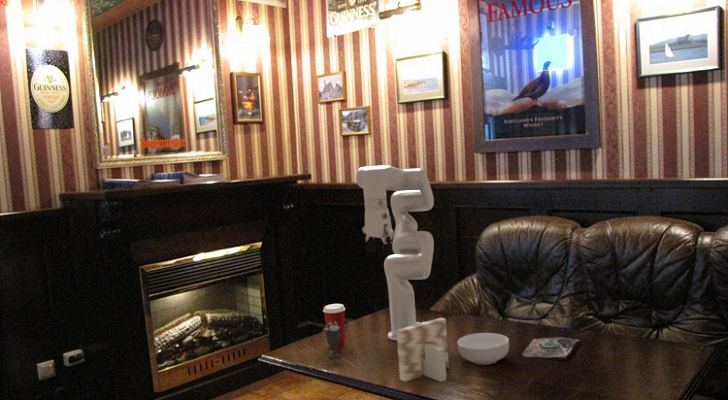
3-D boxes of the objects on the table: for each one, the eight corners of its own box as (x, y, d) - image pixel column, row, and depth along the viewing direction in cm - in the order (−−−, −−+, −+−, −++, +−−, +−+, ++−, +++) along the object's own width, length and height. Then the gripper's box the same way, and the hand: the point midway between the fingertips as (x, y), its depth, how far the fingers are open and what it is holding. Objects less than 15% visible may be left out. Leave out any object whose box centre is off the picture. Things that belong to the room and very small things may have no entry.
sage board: (410, 365, 218) (408, 336, 217) (446, 379, 203) (444, 348, 202) (405, 367, 216) (402, 337, 215) (440, 381, 201) (438, 350, 200)
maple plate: (444, 365, 215) (440, 317, 214) (448, 366, 213) (445, 318, 212) (400, 379, 206) (396, 329, 204) (404, 381, 204) (401, 331, 202)
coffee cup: (351, 342, 248) (348, 303, 246) (343, 349, 240) (340, 309, 238) (330, 341, 250) (327, 303, 249) (322, 348, 243) (319, 309, 241)
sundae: (341, 359, 229) (338, 317, 228) (323, 359, 230) (319, 317, 229) (346, 353, 235) (342, 312, 234) (328, 353, 237) (324, 312, 235)
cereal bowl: (478, 349, 229) (477, 329, 228) (520, 358, 217) (518, 337, 216) (448, 363, 217) (446, 342, 216) (490, 373, 205) (489, 351, 204)
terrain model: (537, 340, 236) (537, 331, 235) (580, 344, 228) (580, 335, 227) (519, 358, 218) (519, 348, 218) (565, 363, 210) (565, 353, 210)
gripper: (399, 203, 218) (403, 254, 220) (370, 201, 233) (374, 249, 234) (381, 206, 214) (385, 258, 216) (352, 204, 229) (356, 252, 230)
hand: (379, 253), depth 225 cm, fingers open, 9 cm apart
